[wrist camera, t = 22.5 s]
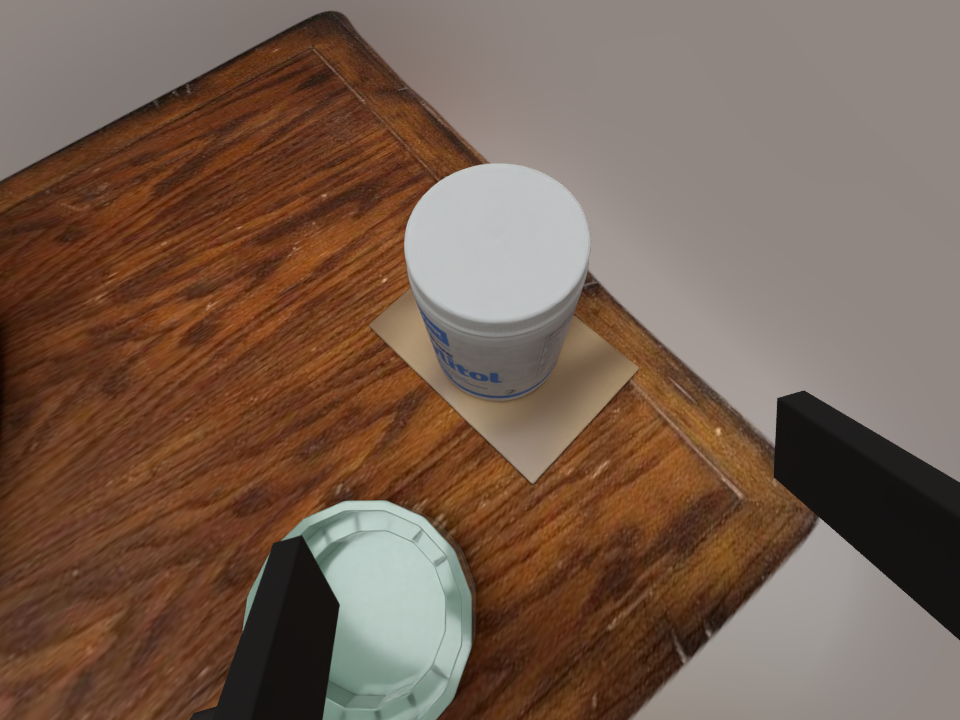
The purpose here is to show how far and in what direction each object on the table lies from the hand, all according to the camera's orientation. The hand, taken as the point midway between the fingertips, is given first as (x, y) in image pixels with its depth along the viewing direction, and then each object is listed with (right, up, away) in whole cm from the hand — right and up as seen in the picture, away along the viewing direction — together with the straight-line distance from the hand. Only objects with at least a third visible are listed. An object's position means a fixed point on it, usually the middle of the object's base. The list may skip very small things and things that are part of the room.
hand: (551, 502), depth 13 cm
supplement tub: (0, +5, +24) cm, 25 cm away
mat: (0, +5, +24) cm, 25 cm away
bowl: (-9, -13, +19) cm, 24 cm away
